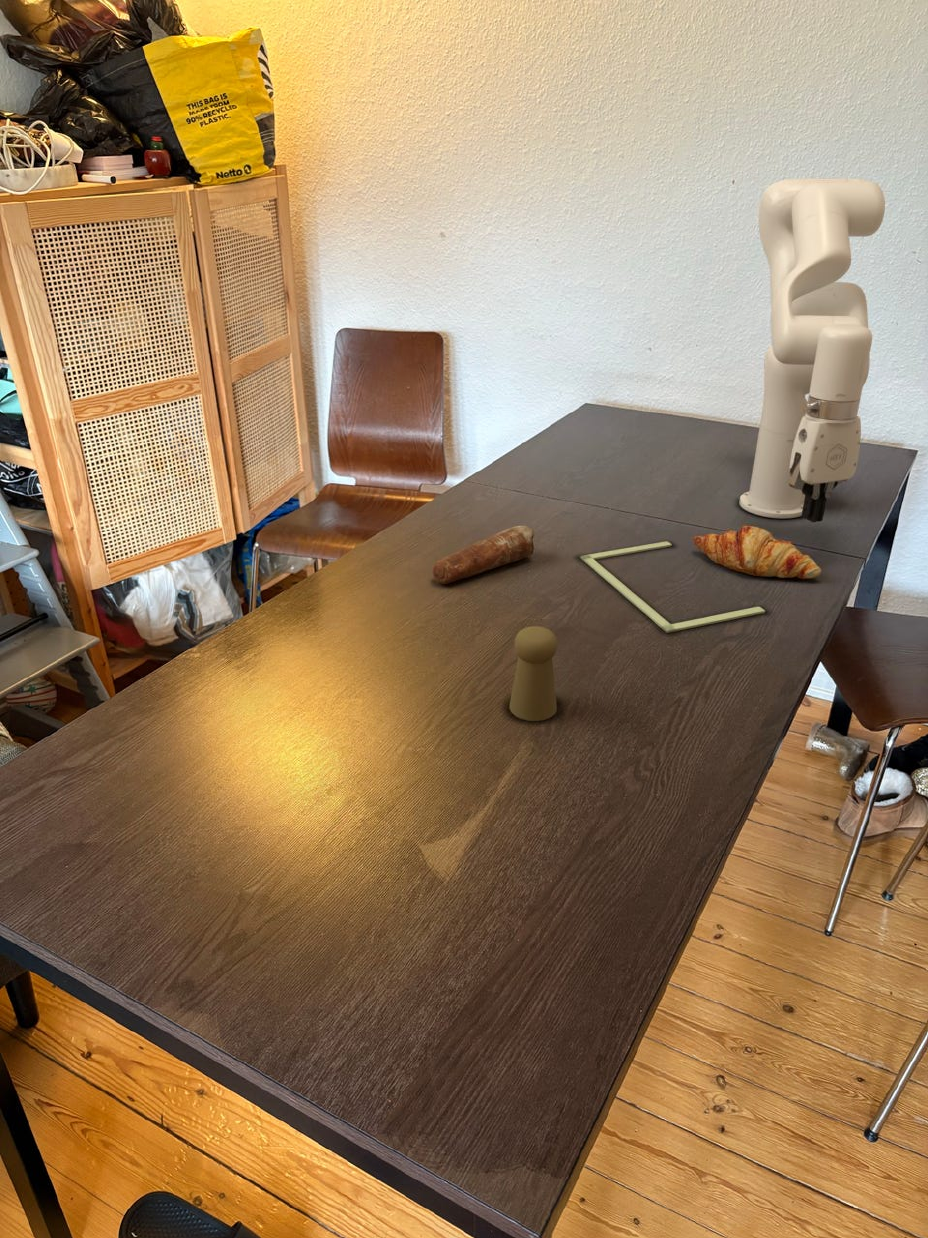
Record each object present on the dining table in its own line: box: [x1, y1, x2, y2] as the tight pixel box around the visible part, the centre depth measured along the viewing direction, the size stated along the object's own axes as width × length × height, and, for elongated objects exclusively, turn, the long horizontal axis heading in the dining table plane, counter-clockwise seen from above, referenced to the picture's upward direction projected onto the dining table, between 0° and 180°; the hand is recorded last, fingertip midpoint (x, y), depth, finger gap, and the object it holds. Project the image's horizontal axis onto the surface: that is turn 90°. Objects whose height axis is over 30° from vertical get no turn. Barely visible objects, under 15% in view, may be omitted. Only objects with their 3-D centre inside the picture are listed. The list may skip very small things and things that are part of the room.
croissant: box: [693, 524, 822, 580], centre depth 149 cm, size 21×10×8 cm
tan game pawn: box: [508, 625, 558, 722], centre depth 112 cm, size 6×6×11 cm
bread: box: [432, 524, 535, 585], centre depth 149 cm, size 6×19×6 cm, turn 126°
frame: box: [579, 540, 766, 634], centre depth 145 cm, size 17×28×1 cm, turn 21°
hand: (811, 518), depth 149 cm, fingers closed
